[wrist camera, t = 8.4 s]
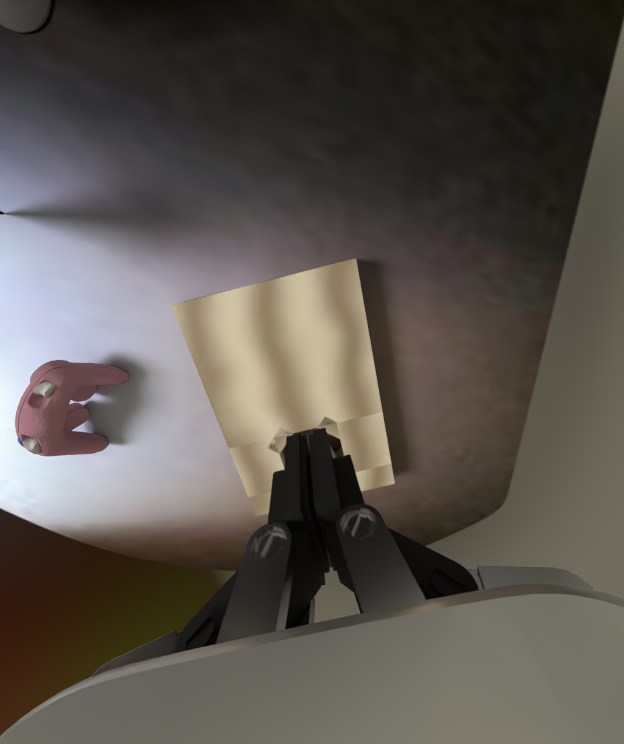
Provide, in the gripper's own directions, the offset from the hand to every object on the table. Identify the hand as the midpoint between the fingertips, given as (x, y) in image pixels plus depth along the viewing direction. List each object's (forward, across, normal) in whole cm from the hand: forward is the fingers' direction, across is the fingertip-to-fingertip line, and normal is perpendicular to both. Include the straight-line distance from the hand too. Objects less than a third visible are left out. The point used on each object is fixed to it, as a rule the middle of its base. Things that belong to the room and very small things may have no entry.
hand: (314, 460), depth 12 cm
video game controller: (+18, +22, 0) cm, 29 cm away
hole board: (+18, +2, +5) cm, 19 cm away
